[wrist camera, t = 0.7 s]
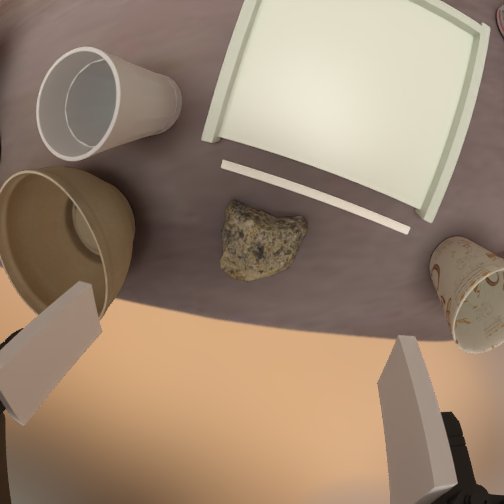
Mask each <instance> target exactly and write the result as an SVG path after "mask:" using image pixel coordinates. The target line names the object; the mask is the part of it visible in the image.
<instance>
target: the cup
mask: <svg viewBox="0 0 504 504" xmlns="http://www.w3.org/2000/svg"><path fill="white" fill-rule="evenodd" d="M181 108H182V95H181V91H180V89H179V87H178V85H177V84H176V82H175V81H174V80H172V79H171V78H170V77H168V76H165V75H162V74H158V73H154V72H152V71H150V70H147V69H145V68H142V67H140V66H137V65H135V64H132V63H130V62H127V61H125V60H124V59H122V58H119V57H117V56H115V55H112V54H110V53H107V52H105V51H102V50H99V49H97V48H93V47H80V48H76V49H73V50H71V51H69V52H67V53H66V54H64V55H63V56H62V57H60V58H59V59H58V60H57V61H56V62H55V63H54V64H53V66H52V67H51V68H50V70H49V71H48V73H47V74H46V76H45V78H44V80H43V82H42V85H41V88H40V91H39V95H38V99H37V108H36V117H37V125H38V129H39V133H40V136H41V138H42V140H43V142H44V144H45V145H46V147H47V148H48V149H49V150H50V152H51V153H53V154H54V155H55V156H57V157H58V158H60V159H63V160H66V161H79V160H82V159H85V158H88V157H90V156H92V155H95V154H97V153H100V152H103V151H105V150H108V149H111V148H113V147H116V146H119V145H122V144H125V143H128V142H131V141H134V140H137V139H141V138H144V137H147V136H150V135H156V134H160V133H163V132H165V131H166V130H168V129H169V128H170V127H171V126H172V125H173V124H174V123H175V122H176V120H177V119H178V117H179V115H180V112H181Z"/></svg>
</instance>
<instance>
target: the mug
mask: <svg viewBox="0 0 504 504" xmlns="http://www.w3.org/2000/svg"><path fill="white" fill-rule="evenodd" d="M429 270H430V275H431V278H432V281H433V284H434V286H435V289H436V291H437V294H438V297H439V300H440V302H441V305H442V308H443V311H444V314H445V316H446V319H447V322H448V325H449V328H450V332H451V334H452V337H453V339H454V341H455V343H456V344H457V346H458V347H459V348H461V349H462V350H463V351H466V352H469V353H481V352H485V351H489V350H491V349H493V348H495V347H497V346H499V345H500V344H501V343H503V342H504V259H502V258H500V257H498V256H497V255H495V254H493V253H492V252H490V251H488V250H486V249H485V248H483V247H481V246H479V245H478V244H476V243H474V242H472V241H471V240H469V239H467V238H464V237H460V236H455V237H451V238H448V239H446V240H444V241H443V242H442V243H441V244H439V246H438V247H437V248H436V249H435V251H434V252H433V254H432V257H431V260H430V265H429Z"/></svg>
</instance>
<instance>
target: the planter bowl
mask: <svg viewBox="0 0 504 504" xmlns="http://www.w3.org/2000/svg"><path fill="white" fill-rule="evenodd" d="M134 235H135V221H134V215H133V212H132V209H131V207H130V205H129V203H128V201H127V199H126V198H125V196H124V195H123V194H122V193H121V192H120V191H119V190H118V189H117V188H116V187H115V186H113V185H111V184H110V183H107V182H105V181H102V180H101V179H99V178H98V177H96V176H94V175H92V174H90V173H88V172H85V171H82V170H79V169H75V168H70V167H46V168H40V169H27V170H23V171H20V172H17V173H15V174H13V175H12V176H10V177H9V178H8V179H7V180H6V181H5V183H4V184H3V186H2V187H1V189H0V259H1V262H2V265H3V267H4V270H5V272H6V274H7V275H8V278H9V280H10V282H11V284H12V285H13V287H14V288H15V290H16V291H17V293H18V294H19V296H20V297H21V298H22V300H23V301H24V302H25V303H26V304H27V305H28V306H29V307H30V308H31V310H33V311H34V312H35V313H36V314H37V315H39V314H41V313H42V312H43V311H44V310H45V309H46V308H47V307H49V306H50V305H51V304H52V303H53V302H54V301H56V300H57V299H58V298H59V297H60V296H62V295H63V294H64V293H65V292H66V291H68V290H69V289H70V288H71V287H72V286H74V285H75V284H76V283H77V282H79V281H81V282H85V283H89V284H92V289H93V294H94V299H95V304H96V308H97V313H98V317H99V321H100V320H101V318H102V317H103V316H104V314H105V312H106V310H107V308H108V307H109V306H110V304H111V303H112V302H113V300H114V299H115V297H116V296H117V294H118V293H119V291H120V289H121V287H122V285H123V283H124V281H125V278H126V276H127V273H128V269H129V266H130V262H131V257H132V249H133V240H134Z"/></svg>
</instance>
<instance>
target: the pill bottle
mask: <svg viewBox="0 0 504 504" xmlns="http://www.w3.org/2000/svg"><path fill="white" fill-rule="evenodd" d="M497 23H498V26H499V29H500V31H501V33H502V35H503V37H504V5H502V6H501V7H499V9H498V11H497Z"/></svg>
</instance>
